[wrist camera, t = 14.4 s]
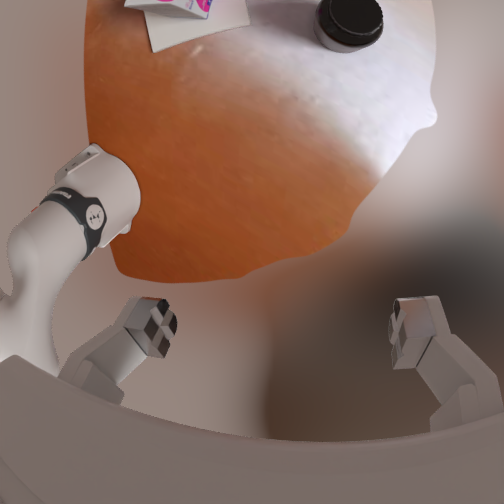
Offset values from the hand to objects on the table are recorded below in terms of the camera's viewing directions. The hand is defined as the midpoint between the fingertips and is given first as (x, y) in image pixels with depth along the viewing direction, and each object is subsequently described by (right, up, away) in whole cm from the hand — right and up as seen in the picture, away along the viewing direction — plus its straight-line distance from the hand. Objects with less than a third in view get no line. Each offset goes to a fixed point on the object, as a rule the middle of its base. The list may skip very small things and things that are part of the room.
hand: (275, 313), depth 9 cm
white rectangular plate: (-9, +35, +15) cm, 39 cm away
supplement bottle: (+10, +30, +15) cm, 35 cm away
